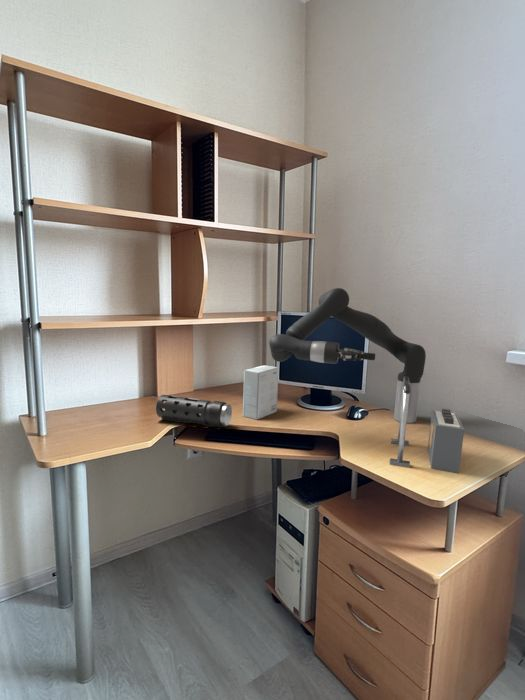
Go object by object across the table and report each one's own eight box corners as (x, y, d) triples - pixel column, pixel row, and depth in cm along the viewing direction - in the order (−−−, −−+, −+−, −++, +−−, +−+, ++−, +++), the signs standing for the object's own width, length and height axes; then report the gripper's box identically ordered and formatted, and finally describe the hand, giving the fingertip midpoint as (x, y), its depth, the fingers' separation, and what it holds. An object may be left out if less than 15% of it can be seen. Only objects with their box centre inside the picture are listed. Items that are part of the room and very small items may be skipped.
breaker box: (427, 448, 151) (432, 405, 149) (452, 452, 149) (457, 408, 146) (431, 468, 134) (436, 419, 132) (458, 473, 132) (465, 423, 129)
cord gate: (391, 441, 157) (397, 374, 153) (408, 443, 155) (415, 376, 151) (389, 464, 136) (397, 387, 132) (409, 467, 134) (417, 389, 130)
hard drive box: (262, 408, 190) (265, 364, 188) (277, 412, 186) (279, 367, 183) (241, 416, 178) (243, 369, 175) (256, 420, 173) (259, 372, 171)
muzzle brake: (167, 416, 173) (168, 391, 172) (232, 425, 166) (233, 399, 164) (155, 423, 164) (155, 396, 163) (222, 433, 156) (223, 406, 155)
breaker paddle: (429, 442, 145) (431, 422, 144) (445, 444, 143) (447, 424, 142) (430, 448, 139) (433, 427, 138) (447, 450, 137) (449, 429, 136)
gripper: (322, 343, 144) (375, 348, 139) (328, 339, 156) (377, 343, 151) (320, 365, 145) (372, 371, 140) (326, 359, 158) (375, 364, 152)
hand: (375, 356), depth 146 cm, fingers closed
